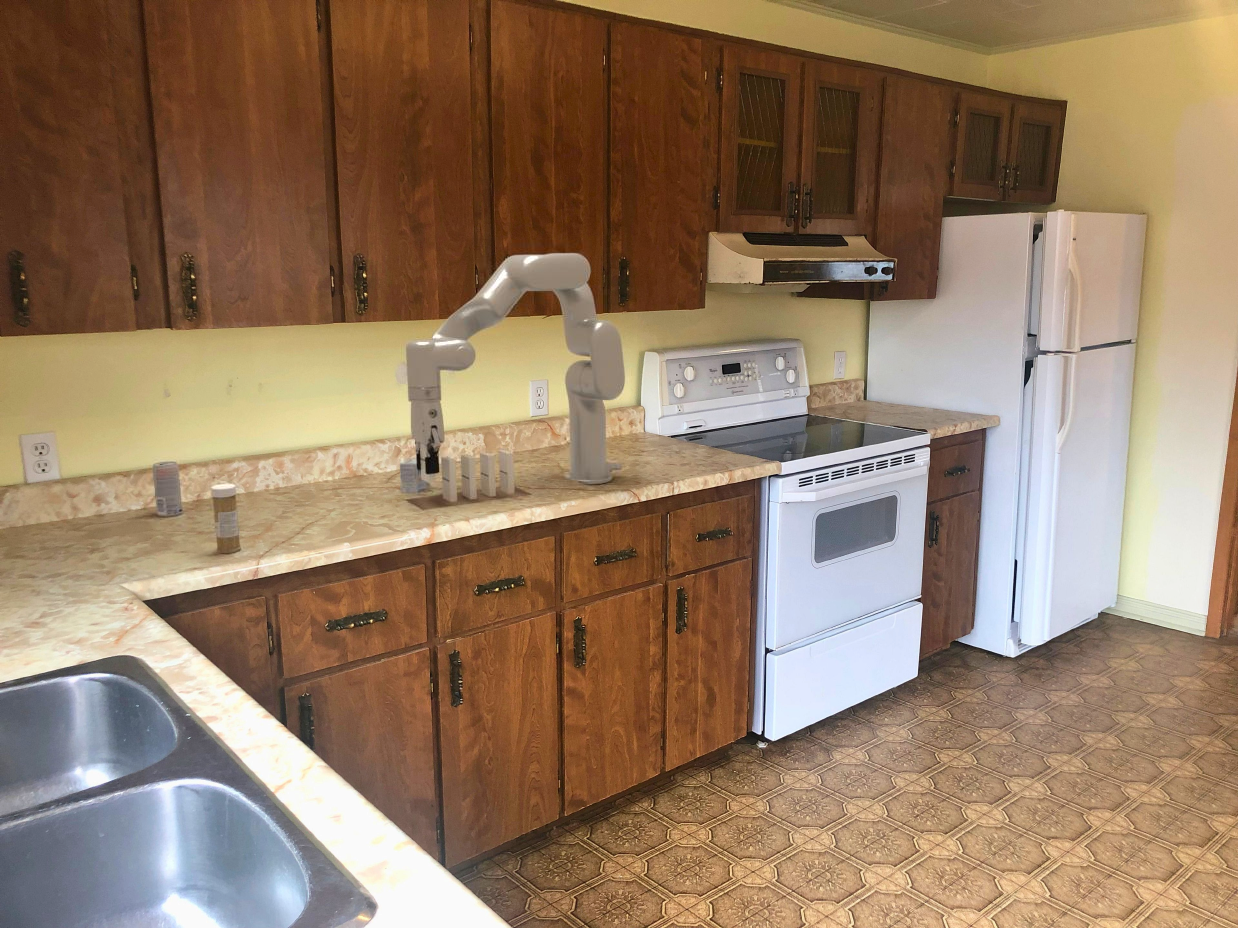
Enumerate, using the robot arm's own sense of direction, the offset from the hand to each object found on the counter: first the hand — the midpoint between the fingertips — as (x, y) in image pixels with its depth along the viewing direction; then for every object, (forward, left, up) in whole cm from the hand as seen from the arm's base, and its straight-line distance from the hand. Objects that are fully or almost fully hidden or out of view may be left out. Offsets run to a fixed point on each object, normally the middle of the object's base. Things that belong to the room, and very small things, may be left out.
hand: (428, 470), depth 226 cm
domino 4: (-15, 0, -8) cm, 17 cm away
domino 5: (-20, 0, -8) cm, 21 cm away
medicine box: (-2, -15, -9) cm, 18 cm away
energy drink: (+53, -27, -9) cm, 60 cm away
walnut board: (-10, 0, -9) cm, 13 cm away
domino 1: (0, 0, -2) cm, 2 cm away
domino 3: (-10, 0, -8) cm, 13 cm away
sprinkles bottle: (+47, +12, -9) cm, 49 cm away
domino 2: (-5, 0, -8) cm, 9 cm away
